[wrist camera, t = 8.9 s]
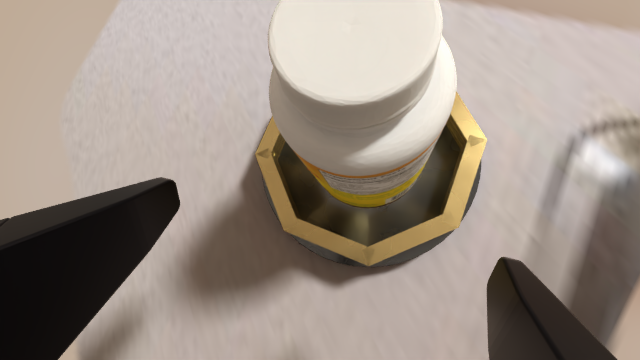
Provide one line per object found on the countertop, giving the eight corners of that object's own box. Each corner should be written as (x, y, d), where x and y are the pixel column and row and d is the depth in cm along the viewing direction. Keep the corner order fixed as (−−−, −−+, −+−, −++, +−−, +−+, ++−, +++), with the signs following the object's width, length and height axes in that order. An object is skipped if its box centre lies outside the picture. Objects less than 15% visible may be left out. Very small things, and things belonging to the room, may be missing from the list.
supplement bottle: (322, 110, 18) (254, -67, 8) (423, 113, 17) (487, -88, 7) (310, 206, 17) (212, 135, 7) (418, 217, 16) (486, 149, 6)
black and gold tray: (519, 211, 16) (542, 204, 14) (310, 301, 16) (301, 307, 14) (412, 39, 19) (417, 12, 17) (242, 119, 20) (226, 103, 18)
